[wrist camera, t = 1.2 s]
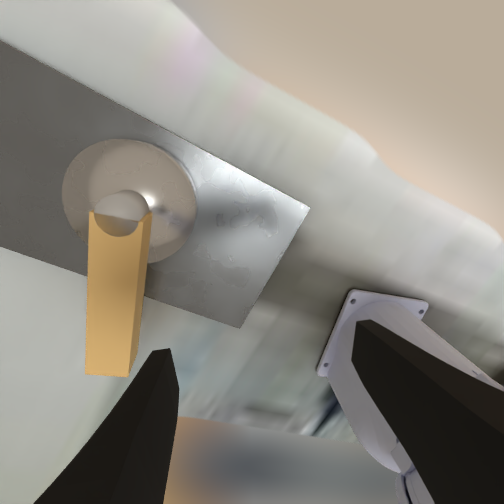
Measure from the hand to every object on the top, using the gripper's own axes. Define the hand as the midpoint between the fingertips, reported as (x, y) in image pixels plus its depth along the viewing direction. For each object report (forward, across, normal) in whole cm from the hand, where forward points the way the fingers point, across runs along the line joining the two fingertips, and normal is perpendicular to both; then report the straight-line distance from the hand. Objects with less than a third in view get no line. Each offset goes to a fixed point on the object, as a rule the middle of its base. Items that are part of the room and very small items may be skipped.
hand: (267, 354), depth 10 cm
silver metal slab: (+11, +6, -4) cm, 13 cm away
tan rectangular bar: (+7, +7, 0) cm, 10 cm away
